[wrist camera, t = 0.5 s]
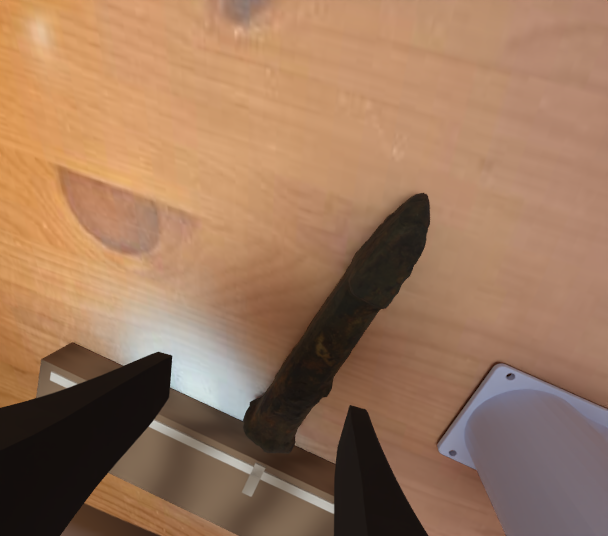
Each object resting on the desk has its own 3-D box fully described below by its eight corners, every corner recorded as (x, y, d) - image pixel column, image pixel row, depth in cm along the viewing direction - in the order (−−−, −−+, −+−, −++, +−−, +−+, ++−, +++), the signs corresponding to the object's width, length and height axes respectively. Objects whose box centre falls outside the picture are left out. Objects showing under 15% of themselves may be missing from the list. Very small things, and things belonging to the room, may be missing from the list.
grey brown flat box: (363, 477, 23) (364, 512, 21) (323, 538, 26) (320, 576, 23) (72, 342, 24) (39, 359, 22) (59, 413, 27) (29, 436, 24)
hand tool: (295, 423, 23) (282, 478, 19) (252, 396, 23) (229, 446, 19) (455, 218, 18) (491, 229, 13) (399, 183, 18) (416, 181, 13)
